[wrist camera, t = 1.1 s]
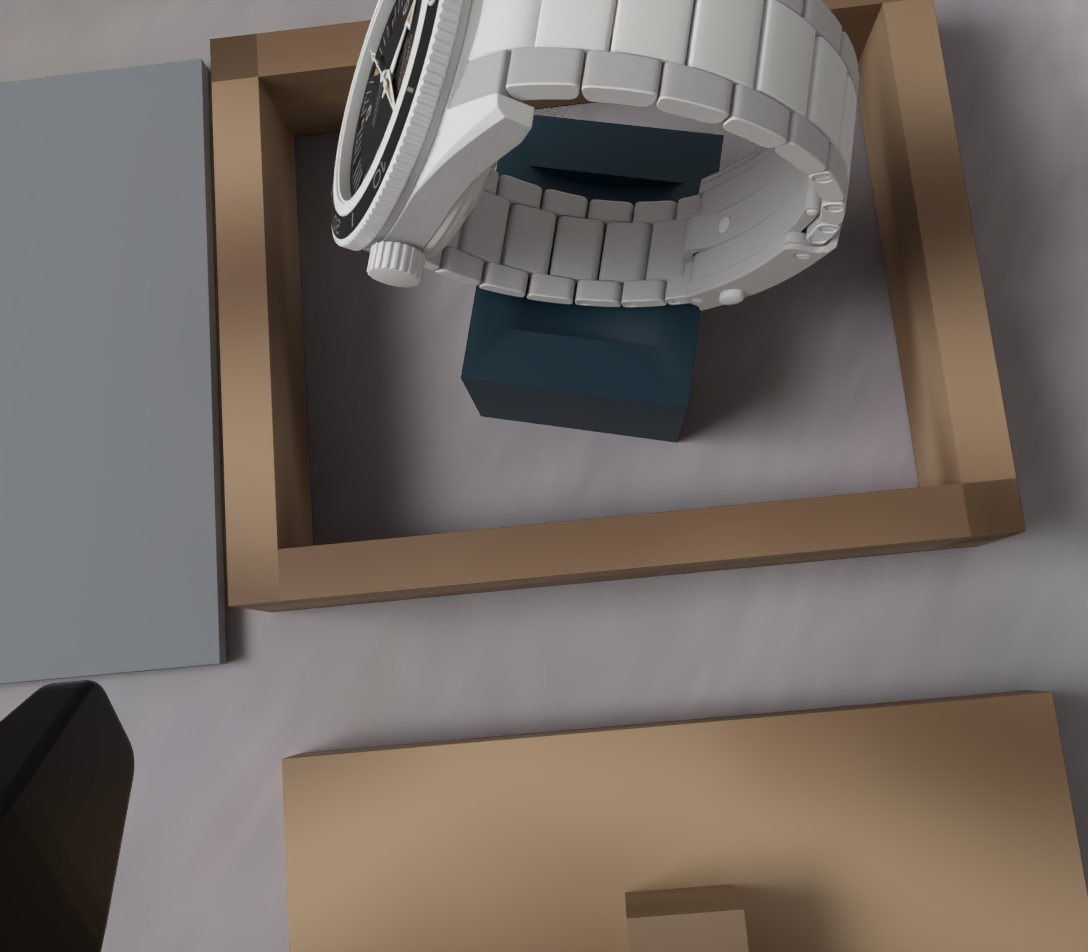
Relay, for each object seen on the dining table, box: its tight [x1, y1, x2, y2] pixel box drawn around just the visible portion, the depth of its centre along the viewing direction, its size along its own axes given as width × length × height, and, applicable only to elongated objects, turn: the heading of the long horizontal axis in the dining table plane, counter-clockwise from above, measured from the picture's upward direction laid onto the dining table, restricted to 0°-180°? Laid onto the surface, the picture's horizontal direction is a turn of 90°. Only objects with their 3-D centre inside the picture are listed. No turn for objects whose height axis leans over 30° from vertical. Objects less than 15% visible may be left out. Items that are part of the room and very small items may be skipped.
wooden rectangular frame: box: [210, 0, 1025, 612], centre depth 22 cm, size 12×15×2 cm
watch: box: [330, 0, 859, 442], centre depth 17 cm, size 6×8×11 cm
